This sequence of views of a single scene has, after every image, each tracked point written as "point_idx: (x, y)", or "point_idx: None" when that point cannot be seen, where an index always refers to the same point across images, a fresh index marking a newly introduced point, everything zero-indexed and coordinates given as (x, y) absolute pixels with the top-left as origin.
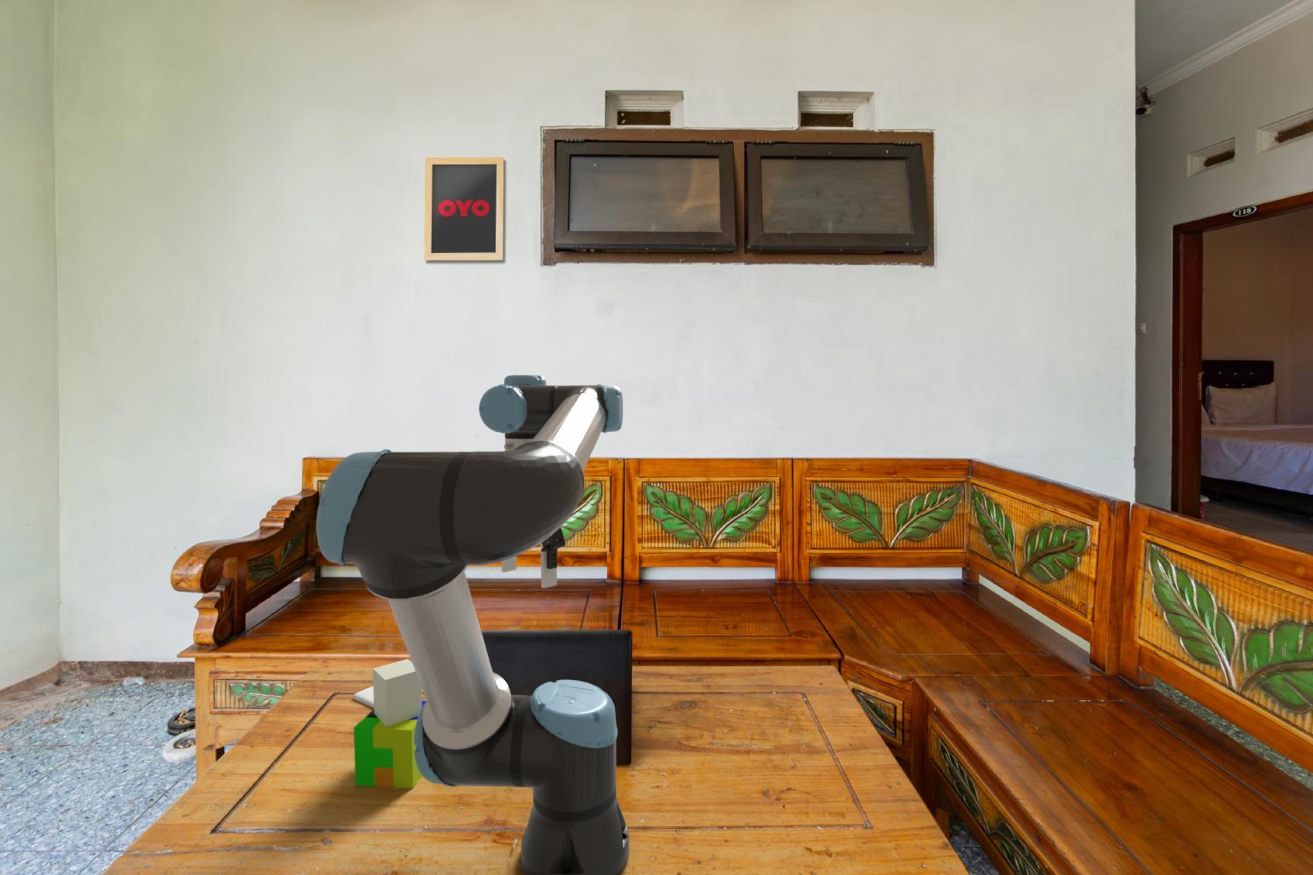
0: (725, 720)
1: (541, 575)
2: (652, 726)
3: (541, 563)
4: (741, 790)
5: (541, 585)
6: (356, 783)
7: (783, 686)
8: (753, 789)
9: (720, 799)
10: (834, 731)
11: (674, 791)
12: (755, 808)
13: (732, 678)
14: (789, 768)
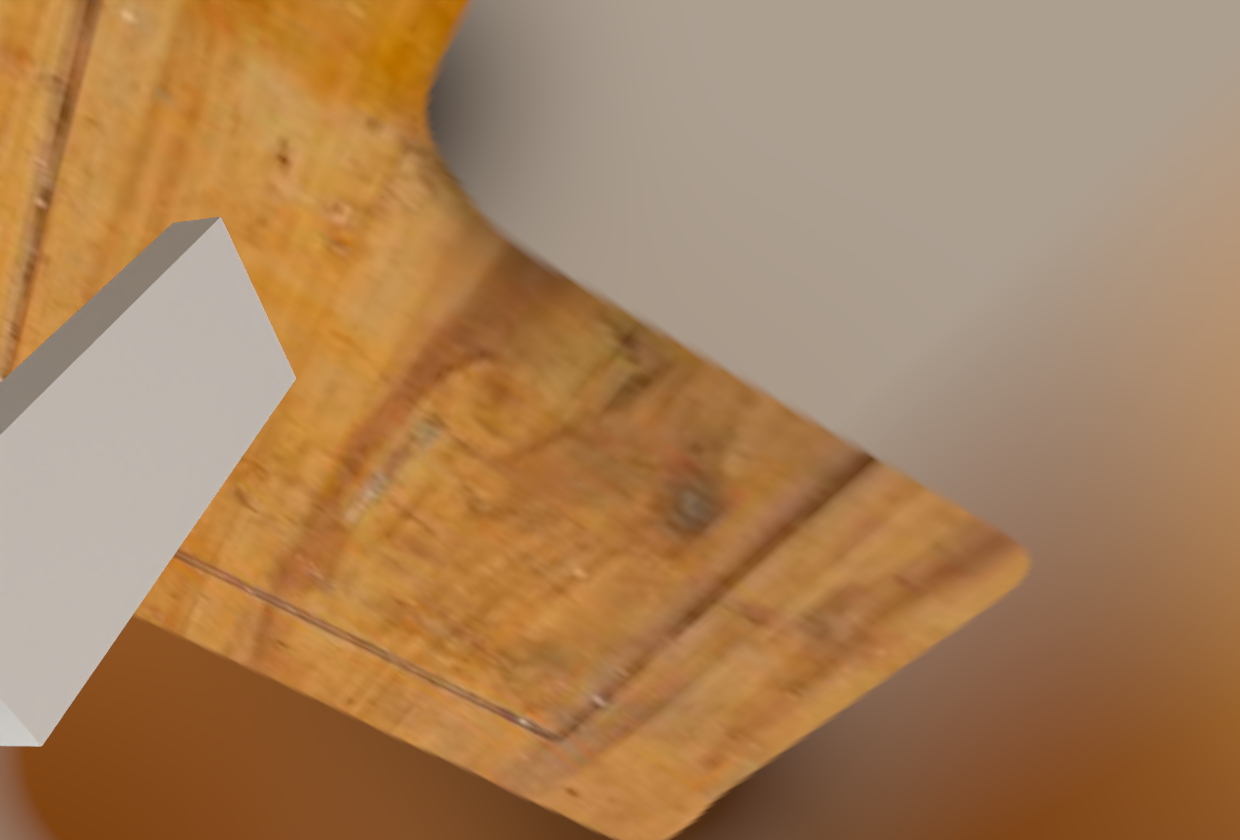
0: (533, 525)
1: (137, 296)
2: (627, 347)
3: (25, 400)
4: None
5: (205, 228)
6: None
7: (615, 735)
8: None
9: None
10: (348, 660)
11: (239, 187)
12: None
13: (750, 688)
14: (237, 487)
